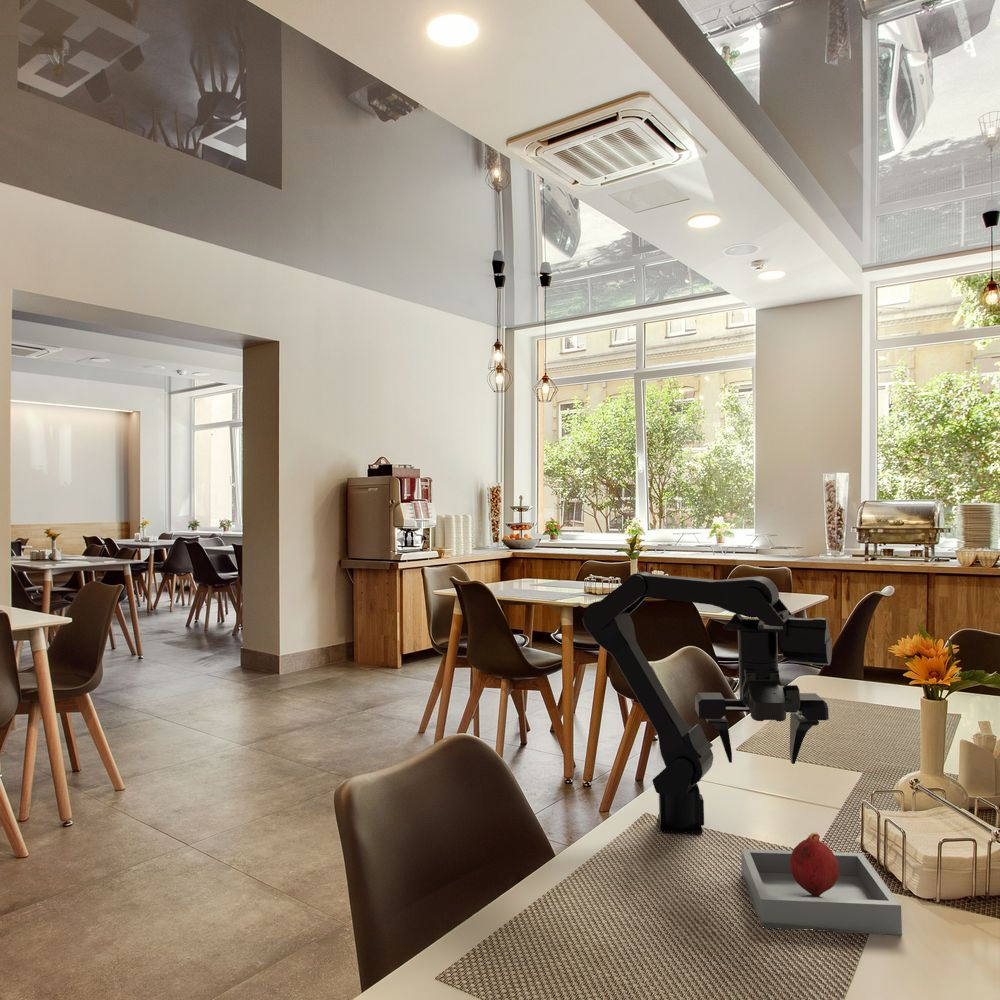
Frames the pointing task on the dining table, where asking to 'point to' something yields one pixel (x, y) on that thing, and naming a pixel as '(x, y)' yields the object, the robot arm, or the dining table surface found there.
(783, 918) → the tray
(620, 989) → the dining table surface
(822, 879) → the onion
